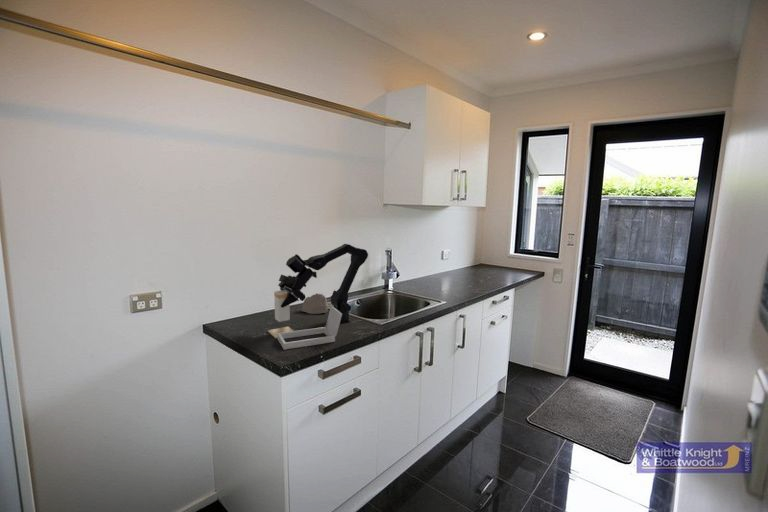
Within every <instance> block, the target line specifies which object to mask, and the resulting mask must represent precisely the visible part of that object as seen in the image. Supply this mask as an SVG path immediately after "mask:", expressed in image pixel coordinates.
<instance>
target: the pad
mask: <svg viewBox="0 0 768 512" xmlns="http://www.w3.org/2000/svg"><path fill="white" fill-rule="evenodd" d="M290 331H295V330H294V329H292V328H291V327H290V326H284V327H278V328H273V329H268V330H267V332H268V333H269V334H270V335H271V336H272V337H274V339H277V333H283V332H290Z"/></svg>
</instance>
